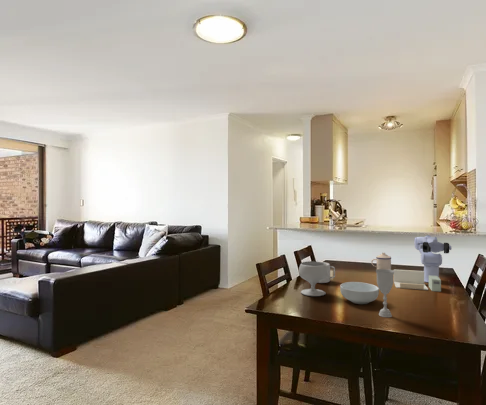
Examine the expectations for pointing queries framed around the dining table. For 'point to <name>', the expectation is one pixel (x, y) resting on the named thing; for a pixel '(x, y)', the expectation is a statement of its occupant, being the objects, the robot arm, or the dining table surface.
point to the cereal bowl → (359, 292)
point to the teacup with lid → (383, 261)
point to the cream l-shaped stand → (409, 279)
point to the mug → (327, 273)
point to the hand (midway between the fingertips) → (438, 250)
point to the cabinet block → (435, 283)
